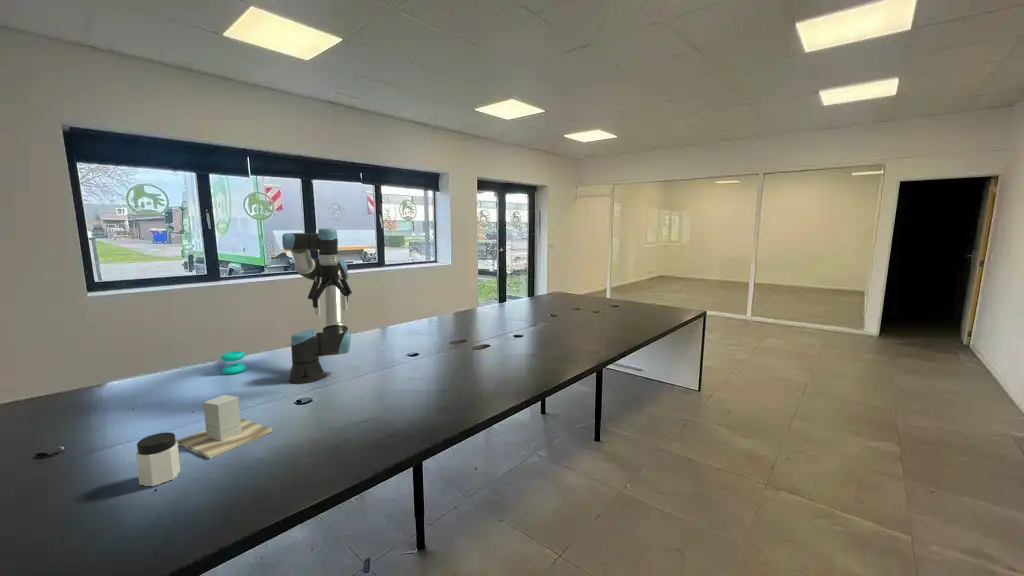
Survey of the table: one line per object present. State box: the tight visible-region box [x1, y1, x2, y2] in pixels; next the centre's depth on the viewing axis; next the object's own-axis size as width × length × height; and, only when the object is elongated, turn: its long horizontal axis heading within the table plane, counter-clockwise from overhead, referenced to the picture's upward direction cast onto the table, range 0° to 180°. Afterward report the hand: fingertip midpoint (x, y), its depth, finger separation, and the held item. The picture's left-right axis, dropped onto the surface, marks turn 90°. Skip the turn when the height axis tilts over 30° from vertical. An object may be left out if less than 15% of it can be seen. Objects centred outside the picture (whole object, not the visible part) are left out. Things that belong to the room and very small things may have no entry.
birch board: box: [176, 417, 273, 459], centre depth 139 cm, size 20×20×1 cm
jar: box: [135, 431, 181, 486], centre depth 115 cm, size 9×8×12 cm
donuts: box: [220, 350, 247, 375], centre depth 206 cm, size 10×10×10 cm
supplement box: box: [202, 394, 241, 441], centre depth 138 cm, size 7×7×13 cm
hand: (331, 312), depth 179 cm, fingers open, 13 cm apart
